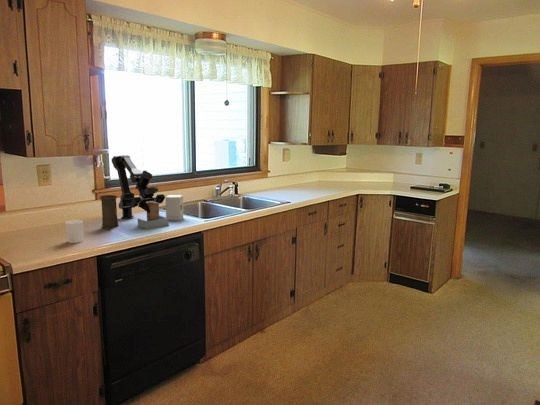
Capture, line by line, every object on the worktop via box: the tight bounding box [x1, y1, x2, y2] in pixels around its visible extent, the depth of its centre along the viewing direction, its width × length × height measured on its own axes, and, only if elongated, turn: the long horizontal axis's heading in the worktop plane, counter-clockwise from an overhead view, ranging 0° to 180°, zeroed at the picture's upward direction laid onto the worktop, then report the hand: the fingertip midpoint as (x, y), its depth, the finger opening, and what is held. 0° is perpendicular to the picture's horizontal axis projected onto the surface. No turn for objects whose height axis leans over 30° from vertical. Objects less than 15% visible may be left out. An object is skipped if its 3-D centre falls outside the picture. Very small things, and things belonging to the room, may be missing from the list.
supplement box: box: [165, 194, 184, 221], centre depth 247 cm, size 9×9×15 cm
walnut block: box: [146, 201, 160, 221], centre depth 229 cm, size 5×5×11 cm
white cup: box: [65, 219, 84, 244], centre depth 199 cm, size 8×8×10 cm
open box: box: [137, 214, 170, 230], centre depth 230 cm, size 10×14×5 cm
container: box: [99, 194, 120, 230], centre depth 226 cm, size 9×9×18 cm
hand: (154, 212), depth 228 cm, fingers closed on walnut block, 5 cm apart
